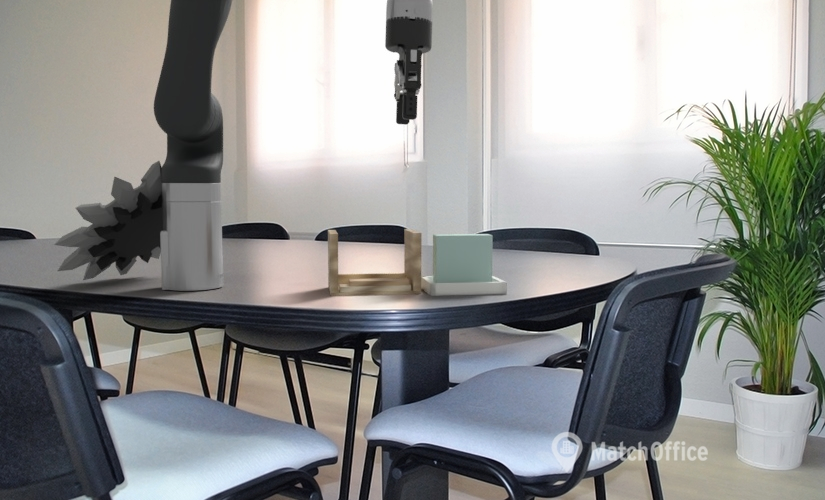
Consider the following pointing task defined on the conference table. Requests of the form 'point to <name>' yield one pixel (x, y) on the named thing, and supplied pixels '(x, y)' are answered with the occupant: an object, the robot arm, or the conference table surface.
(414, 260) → the rack
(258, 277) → the conference table surface
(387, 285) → the offcut stack
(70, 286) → the conference table surface
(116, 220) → the decorative piece
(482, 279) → the sheet
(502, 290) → the tray
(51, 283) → the conference table surface
